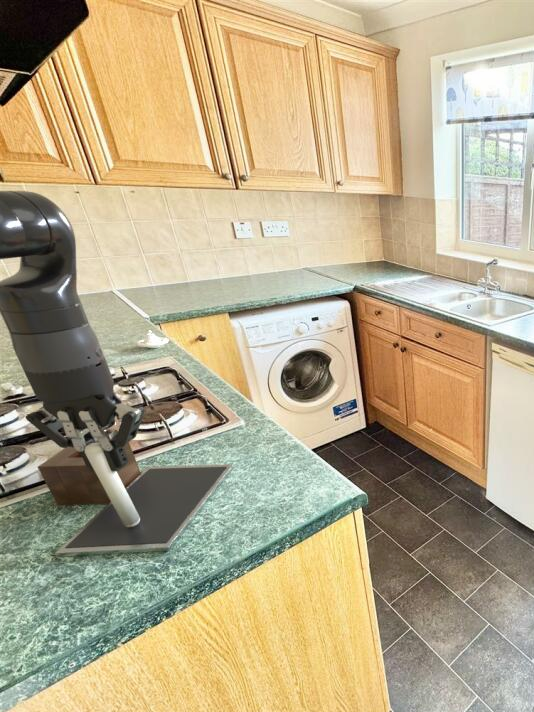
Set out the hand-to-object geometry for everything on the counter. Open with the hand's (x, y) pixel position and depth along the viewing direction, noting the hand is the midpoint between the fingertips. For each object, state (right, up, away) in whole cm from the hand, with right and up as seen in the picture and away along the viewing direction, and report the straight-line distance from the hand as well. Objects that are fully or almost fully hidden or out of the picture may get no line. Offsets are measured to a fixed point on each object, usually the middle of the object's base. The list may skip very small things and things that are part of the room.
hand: (110, 467), depth 62 cm
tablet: (-1, -9, +10) cm, 13 cm away
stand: (-14, -6, +13) cm, 20 cm away
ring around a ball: (-56, +24, +73) cm, 95 cm away
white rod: (-1, -10, +5) cm, 11 cm away
